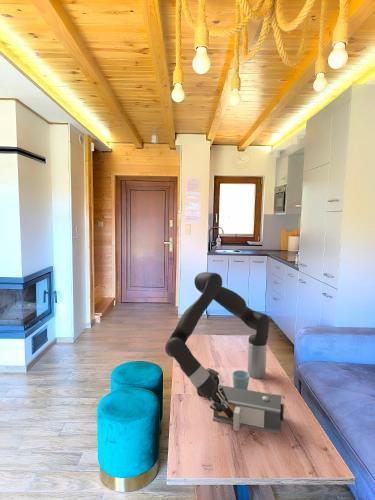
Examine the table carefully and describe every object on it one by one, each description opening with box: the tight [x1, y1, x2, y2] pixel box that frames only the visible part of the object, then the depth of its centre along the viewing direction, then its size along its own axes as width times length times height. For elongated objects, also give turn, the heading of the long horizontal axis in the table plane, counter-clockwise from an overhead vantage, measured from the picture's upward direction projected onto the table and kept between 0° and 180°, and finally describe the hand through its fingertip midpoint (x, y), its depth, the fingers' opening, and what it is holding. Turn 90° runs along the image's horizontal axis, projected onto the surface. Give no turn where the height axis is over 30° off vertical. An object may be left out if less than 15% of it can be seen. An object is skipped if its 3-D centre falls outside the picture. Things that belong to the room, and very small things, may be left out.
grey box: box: [212, 384, 285, 435], centre depth 129 cm, size 11×27×10 cm, turn 72°
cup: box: [232, 369, 250, 390], centre depth 145 cm, size 8×8×10 cm
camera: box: [196, 367, 220, 398], centre depth 150 cm, size 13×10×10 cm
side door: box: [232, 405, 264, 432], centre depth 121 cm, size 6×11×7 cm, turn 72°
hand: (232, 416), depth 121 cm, fingers closed
